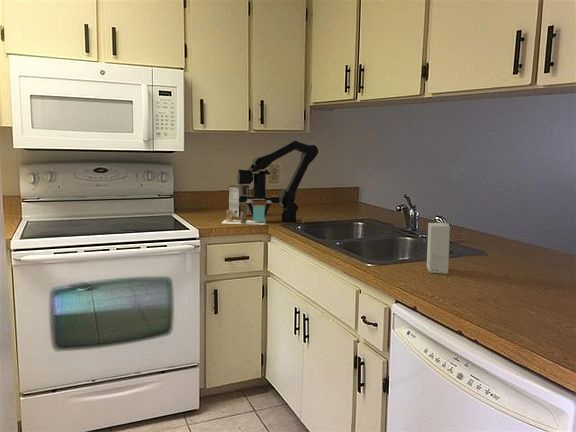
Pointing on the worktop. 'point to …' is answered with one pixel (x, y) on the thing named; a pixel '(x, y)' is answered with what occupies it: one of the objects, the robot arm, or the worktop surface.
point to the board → (246, 222)
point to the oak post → (229, 215)
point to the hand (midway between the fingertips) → (259, 217)
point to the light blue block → (259, 213)
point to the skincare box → (438, 247)
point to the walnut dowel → (243, 217)
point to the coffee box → (234, 195)
